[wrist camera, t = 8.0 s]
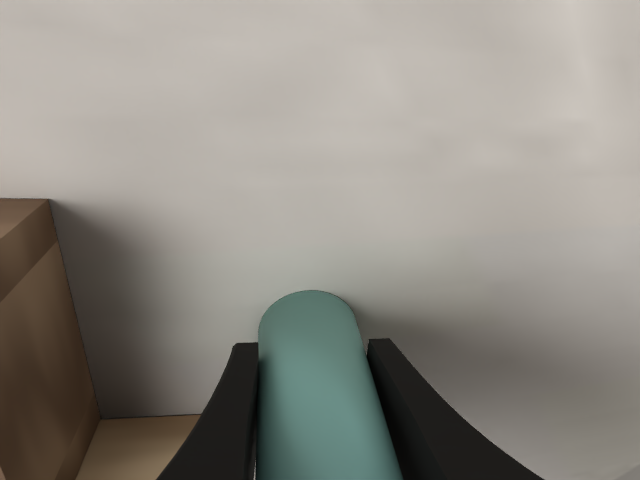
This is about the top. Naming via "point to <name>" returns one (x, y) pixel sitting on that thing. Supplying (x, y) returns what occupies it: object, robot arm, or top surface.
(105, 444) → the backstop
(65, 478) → the block
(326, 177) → the top surface
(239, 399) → the robot arm
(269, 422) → the dowel
